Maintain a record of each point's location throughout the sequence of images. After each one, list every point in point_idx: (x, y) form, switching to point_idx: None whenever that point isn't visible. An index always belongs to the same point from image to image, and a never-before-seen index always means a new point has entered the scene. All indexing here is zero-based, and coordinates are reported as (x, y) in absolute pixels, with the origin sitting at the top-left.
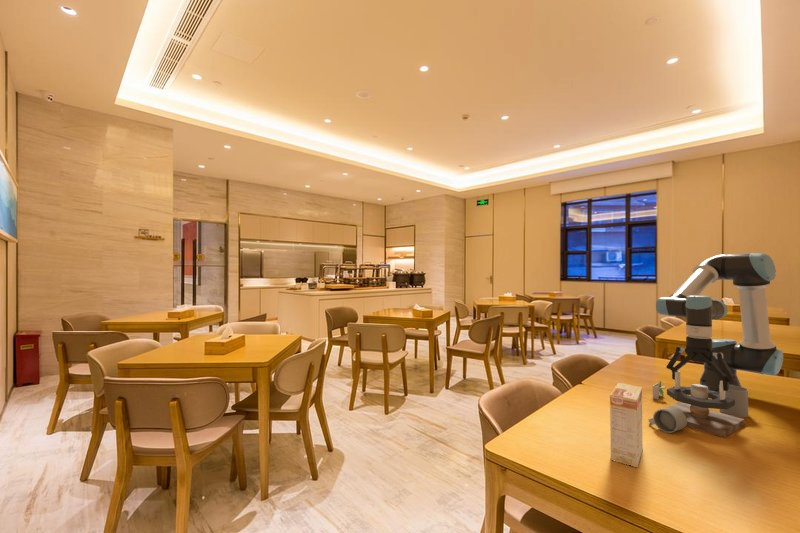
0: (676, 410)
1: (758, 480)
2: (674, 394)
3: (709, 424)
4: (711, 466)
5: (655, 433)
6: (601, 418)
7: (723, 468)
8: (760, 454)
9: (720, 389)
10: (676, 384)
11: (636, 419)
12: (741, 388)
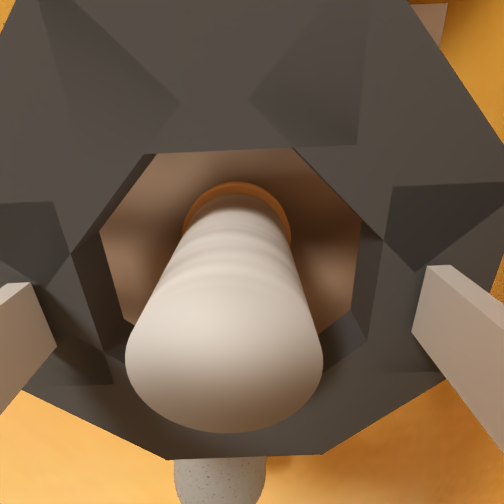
0: (235, 480)
1: (463, 487)
2: (135, 440)
3: (316, 311)
4: (379, 499)
5: None
6: (62, 476)
7: (400, 491)
8: None
9: (491, 429)
10: (14, 390)
11: None
12: None
